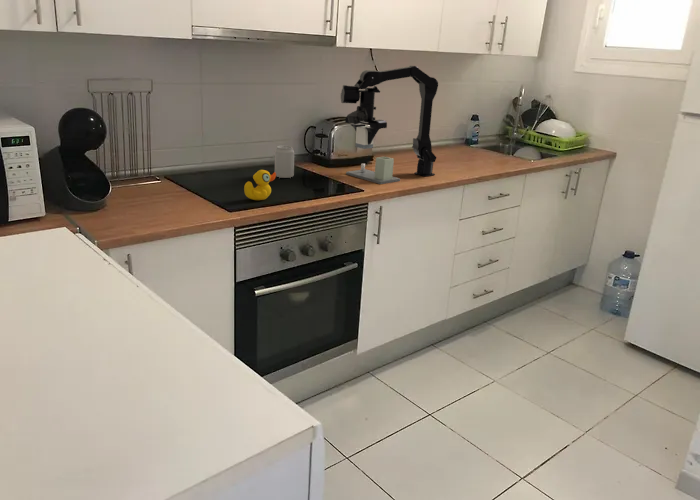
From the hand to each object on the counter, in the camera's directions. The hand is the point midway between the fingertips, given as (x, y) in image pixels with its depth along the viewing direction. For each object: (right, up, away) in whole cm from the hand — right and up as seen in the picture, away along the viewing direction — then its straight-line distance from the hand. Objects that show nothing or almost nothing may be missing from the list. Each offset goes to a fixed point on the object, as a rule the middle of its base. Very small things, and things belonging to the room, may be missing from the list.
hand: (364, 143), depth 235 cm
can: (-32, -15, -7) cm, 36 cm away
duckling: (-36, -27, -41) cm, 60 cm away
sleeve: (0, -2, +1) cm, 2 cm away
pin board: (+3, -14, 0) cm, 14 cm away
